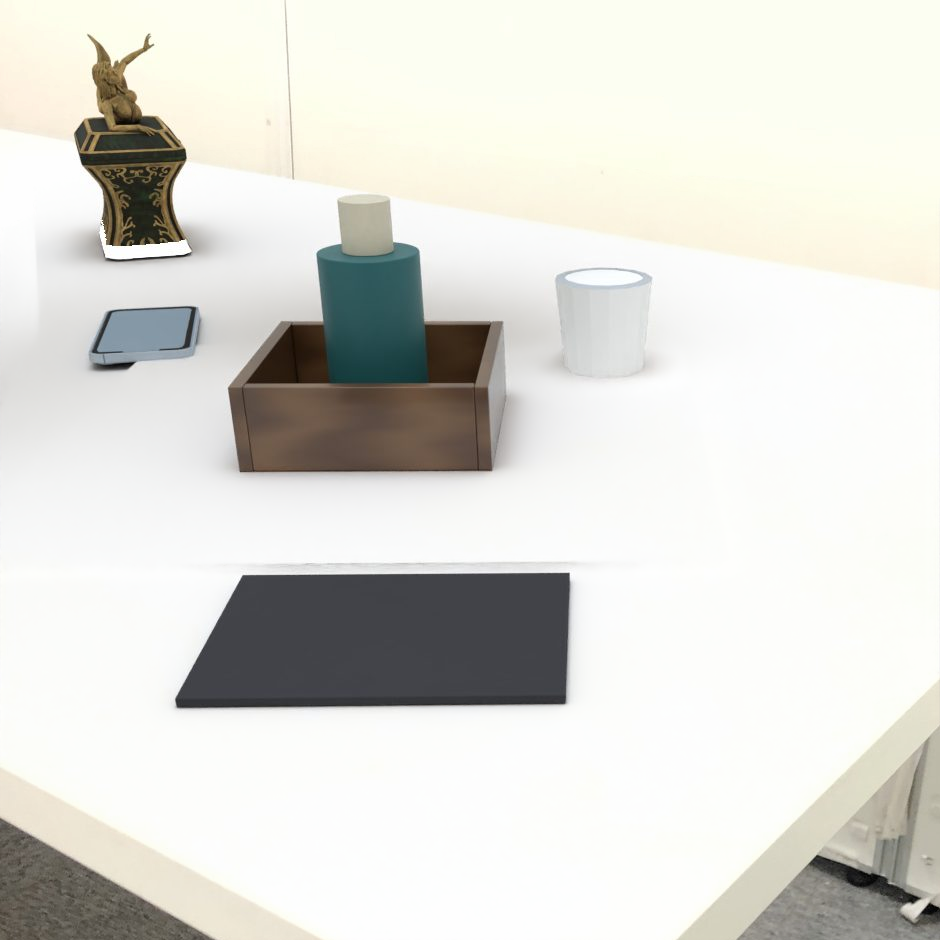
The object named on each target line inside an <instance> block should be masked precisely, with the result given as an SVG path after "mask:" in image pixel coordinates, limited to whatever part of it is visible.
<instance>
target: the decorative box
mask: <svg viewBox="0 0 940 940" xmlns="http://www.w3.org/2000/svg"><path fill="white" fill-rule="evenodd" d="M86 35H87V37H88V38H89V40H90V41H91V42H92V43H93V45H94V47H95V49H96V57H97V58H96V63H94V64H93V66H92V67H91V76H92V80H93V83H94V85H95V86H96V92H95V95H96V106H97V108H98V112H99V113H100V114H101V115H103V116H93V117H92V116H91V117H86V118H84V119H83V120H82V121H81V123H80V124H79V125H78V127H77V128H76V130H75V131H74V132H73V136H74V137H73V138H74V143H75V146H76V150H77V153H78V157H79V160H80V161H79V162H80V164H81V166H82V167H83V168H84V169H85V171H87V173H88V174H89V175H90V176H91V177H92V178H93V179H94V180H95V182H96V183H97V184H98V185H99V187H100V189H101V190H102V198H103V210H102V215H101V220H103V221H102V222H103V224H104V225H103V226H104V230H105V232H104V233H105V234H106V237H105V238H106V239H107V240H106V245H112V246H132V245H146V244H160V243H168V242H179V241H181V240H185V239H187V238H186V235H185V234H184V232H183V230H182V229H181V226H180V224H179V221H178V220H177V219H178V218H177V215H176V212H175V208H174V199H173V195H174V194H173V192H174V186H175V182H176V179H177V178H178V176H179V174H180V173H181V171H182V169H183V167H184V166H185V164H186V162H187V161H188V156H187V150H186V147H185V146H184V145H183V143H182V141H181V140H180V139H178V137H177V136H176V134H175V133H174V132H173V131H172V129H171V128H170V127H169V126H168V124H166V123H165V122H164V121H163V119H161V117H159V116H158V115H143V112H142V109H141V107H140V106H139V105H138V104H137V103H136V101H137V100H138V95H137V93H136V92H135V91H134V90H132V89H129V87H128V83H127V80H126V77H125V74H124V73H125V71H126V68H127V67H128V65H130V64H131V63H132V62H134V60H135V59H137V58H138V57H139V56H141V55H142V54H143V53H146V52H147V51H148V50H150V49H151V48H153V47H154V46H155V43H151V44H150V39H151V37H152V35H151V33H148V34H147V35H146V36H145V39H144V42H143V46H142V48H138V49H137V50H135V51H132V52H130V53H129V54H127V55H125V56H124V57H123V58H122V59H120V61H119V59H117V60H115V61H114V62H113V65H112V60H111V57H110V55H109V53H108V52H107V50H106V49H105V48H104V45H102V43H100V42H99V41H98V40H96V38H94V37H93V36H92V35H91V34H89V33H87V34H86Z"/></svg>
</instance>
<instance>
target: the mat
mask: <svg viewBox="0 0 940 940" xmlns="http://www.w3.org/2000/svg"><path fill="white" fill-rule="evenodd" d="M570 587H571V573H570V572H494V573H492V572H484V573H483V572H479V573H478V572H477V573H476V572H475V573H472V572H471V573H469V572H467V573H337V574H336V573H333V574H331V573H330V574H329V573H328V574H322V573H320V574H316V573H315V574H313V573H312V574H242V575H241V577H240V579H239V580H238V583H237V585H236V586H235V588H234V590H233V591H232V593H231V596H230V597H229V599H228V601H227V603H226V604H225V606H224V608H223V610H222V612H221V613H220V616H219V617H218V619H217V620H216V623H215V625H214V627H213V629H212V630H211V632H210V634H209V636H208V638H207V639H206V641H205V643H204V645H203V646H202V649H201V650H200V652H199V654H198V656H197V657H196V660H195V662H194V663H193V665H192V666H191V669H190V671H189V673H188V674H187V676H186V678H185V680H184V682H183V684H182V685H181V687H180V689H179V691H178V693H177V694H176V696H175V698H174V701H175V707H177V708H186V707H187V708H188V707H191V708H192V707H275V706H276V707H280V706H281V707H282V706H283V707H284V706H285V707H287V706H289V707H290V706H293V707H294V706H296V707H297V706H385V705H387V706H388V705H389V706H390V705H397V706H398V704H399V705H470V704H471V705H478V704H479V705H483V704H491V705H493V704H495V705H496V704H497V705H498V704H565V703H566V702H567V677H568V676H567V673H568V650H569V649H568V647H569V645H568V644H569V618H570V617H569V615H570Z"/></svg>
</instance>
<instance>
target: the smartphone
mask: <svg viewBox="0 0 940 940" xmlns="http://www.w3.org/2000/svg"><path fill="white" fill-rule="evenodd" d="M199 317H201V314H200V307H198V306H196V305H178V306H177V305H175V306H174V305H173V306H157V307H156V306H155V307H136V308H135V307H134V308H133V307H132V308H116V309H110V310H107V311H105V313H104V315H103V317H102V319H101V321H100V324H99V326H98V329H97V331H96V332H95V336H94V338H93V340H92V343H91V345H90V348H89V350H88V351H87V352H88V358H89V361H90V363H93V364H99V365H101V366H112V365H116V364H126V363H127V364H128V363H135V362H146V361H147V362H148V361H149V362H150V361H166V360H179V359H180V360H181V359H187V358H191V357H193V356H194V355H195V350H196V345H197V338H198V332H199V324H200V319H199Z"/></svg>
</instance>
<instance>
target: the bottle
mask: <svg viewBox="0 0 940 940" xmlns="http://www.w3.org/2000/svg"><path fill="white" fill-rule="evenodd" d="M337 213H338V223H339V232H340V234H339V235H340V243H338V244H333V245H329V246H326V247H323V248H320V249H319V250H317V252H316V255H315V256H316V266H317V275H318V283H319V293H320V294H319V295H320V302H321V303H320V304H321V313H322V321H323V323H324V333H325V342H326V352H327V361H328V371H329V381H330V384H335V383H429V381H428V367H427V352H426V338H425V323H424V321H425V311H424V310H425V309H424V296H423V294H424V293H423V283H422V281H423V280H422V265H421V254H420V253H421V251H420V249H419V248H418V247H416V246H414V245H412V244H408V243H404V242H396V241H394V235H393V221H392V209H391V198H390V197H389V196H387V195H383V194H374V193H373V194H372V193H361V194H348V195H343V196H340V197H338V198H337Z"/></svg>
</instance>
